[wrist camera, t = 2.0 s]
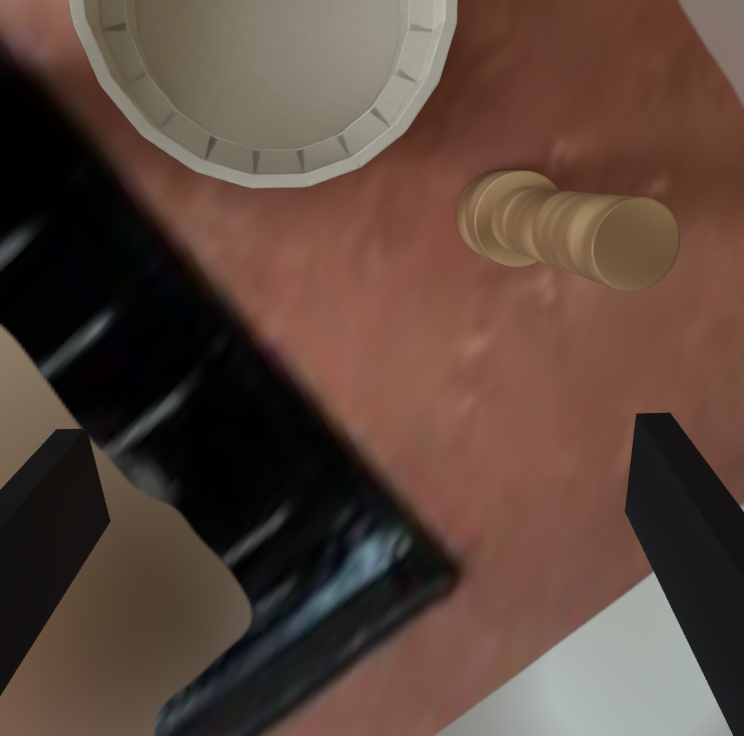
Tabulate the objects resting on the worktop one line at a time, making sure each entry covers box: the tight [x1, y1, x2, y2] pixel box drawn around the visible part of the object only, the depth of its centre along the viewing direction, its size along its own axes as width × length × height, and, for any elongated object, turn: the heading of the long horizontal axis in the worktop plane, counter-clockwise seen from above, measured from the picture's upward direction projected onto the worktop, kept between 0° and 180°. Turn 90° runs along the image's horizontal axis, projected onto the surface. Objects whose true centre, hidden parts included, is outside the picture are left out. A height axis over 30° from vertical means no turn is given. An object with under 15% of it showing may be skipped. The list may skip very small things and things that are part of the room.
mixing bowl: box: [69, 0, 458, 188], centre depth 32 cm, size 16×16×6 cm
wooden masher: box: [456, 170, 680, 292], centre depth 31 cm, size 5×5×16 cm
